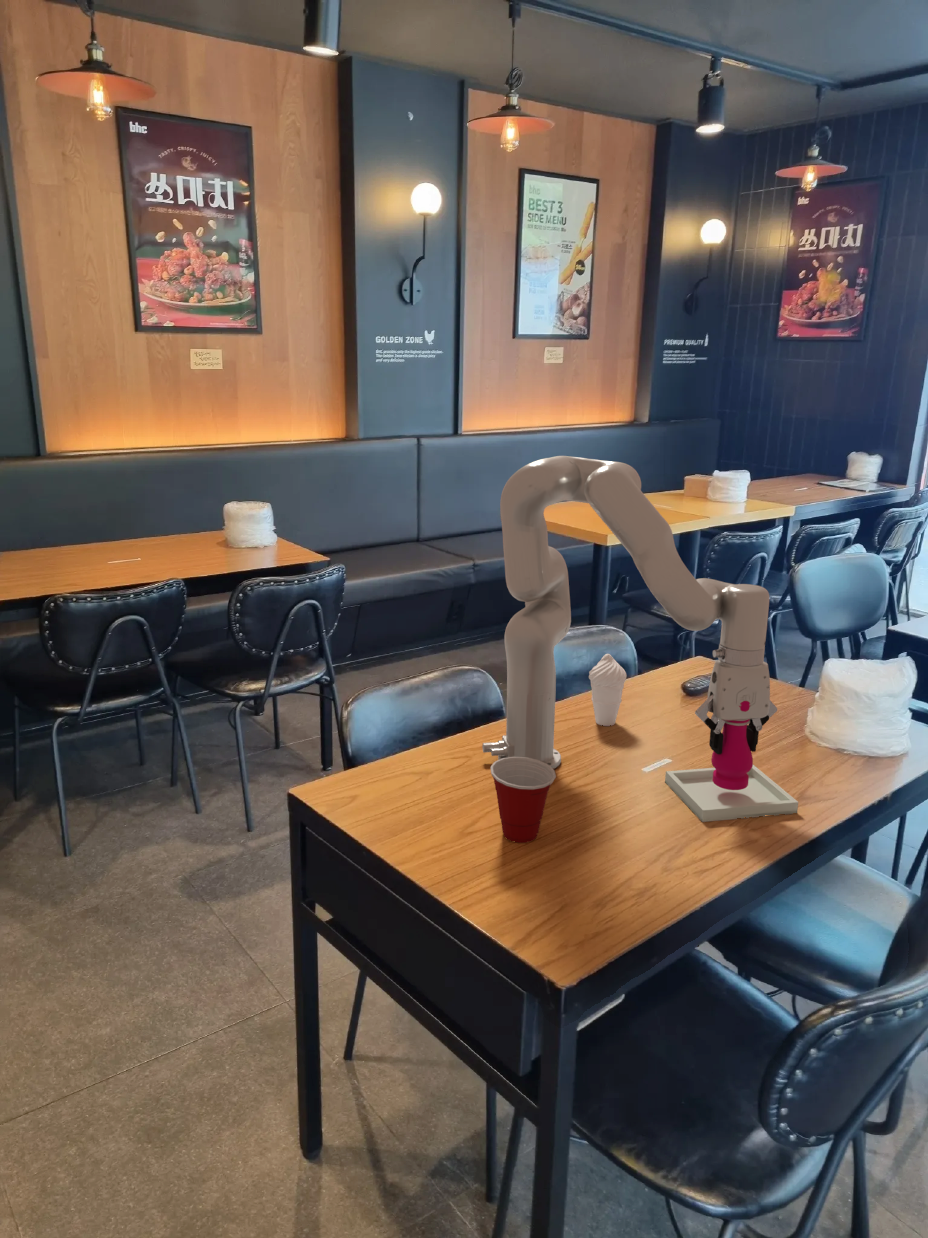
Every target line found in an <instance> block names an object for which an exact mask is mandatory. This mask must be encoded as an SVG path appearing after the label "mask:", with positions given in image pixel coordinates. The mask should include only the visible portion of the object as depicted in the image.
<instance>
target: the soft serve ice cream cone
mask: <svg viewBox="0 0 928 1238" xmlns="http://www.w3.org/2000/svg"><path fill="white" fill-rule="evenodd" d="M588 673H589V675H588V679H589V680H590V686H591V687H590V688H591V701H592V707H593V712H594V721H595V723H596V724H597V725H599V726H602V725H603V726H604V727H610V725H611V726H614V725H615V724H616V720H617V716H618V713H619V709H620V705H621V703H622V697H623V696H622V695H623V690H624V687H625V683H626V680H627V672H626V671H625V669H624V668H623V667H622V666H621V665H620V663H618V662H617V661H616V660H615V658H614V657H613V656H612V655H611V654H610V653H605V654H604V655H603V656H602V657H601V659H600V660H599V661H598V662H597V664H596V665H594V666H593V667H592V669H591V670H590V671H588Z"/></svg>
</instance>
